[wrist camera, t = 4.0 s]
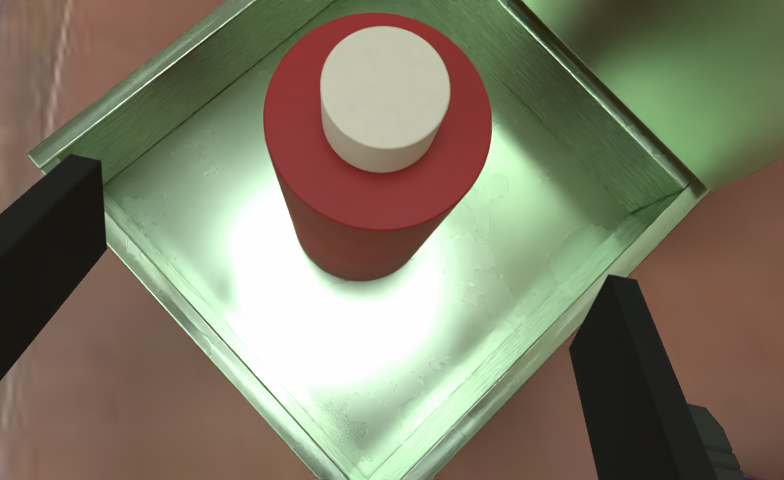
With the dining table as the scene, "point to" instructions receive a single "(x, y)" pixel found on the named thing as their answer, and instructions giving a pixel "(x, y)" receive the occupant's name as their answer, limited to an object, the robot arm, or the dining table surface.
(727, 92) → the lid
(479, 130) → the ketchup
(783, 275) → the dining table surface
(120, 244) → the green square tray
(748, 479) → the container
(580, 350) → the robot arm
